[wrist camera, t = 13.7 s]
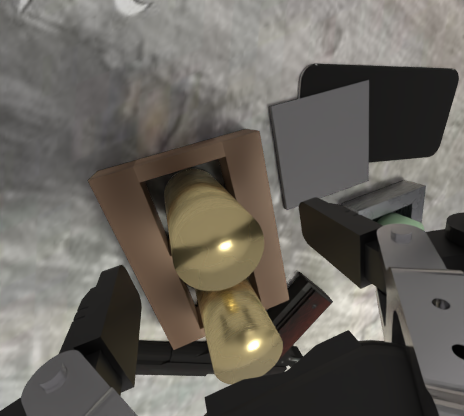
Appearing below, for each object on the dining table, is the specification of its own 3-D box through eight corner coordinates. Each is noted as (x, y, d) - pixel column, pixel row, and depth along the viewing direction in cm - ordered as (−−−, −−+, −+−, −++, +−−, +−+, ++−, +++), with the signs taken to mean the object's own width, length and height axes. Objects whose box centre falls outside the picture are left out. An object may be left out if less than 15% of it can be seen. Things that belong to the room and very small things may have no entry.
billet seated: (232, 244, 20) (277, 316, 13) (242, 281, 21) (287, 364, 14) (185, 261, 19) (204, 349, 12) (199, 298, 21) (223, 395, 13)
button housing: (404, 180, 23) (425, 185, 21) (400, 241, 26) (418, 250, 24) (341, 203, 22) (358, 211, 20) (344, 264, 24) (359, 276, 23)
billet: (211, 161, 17) (254, 193, 10) (225, 211, 18) (270, 270, 11) (155, 178, 16) (157, 227, 9) (174, 228, 18) (189, 304, 11)
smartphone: (303, 62, 16) (462, 68, 20) (297, 64, 17) (453, 69, 21) (294, 170, 19) (437, 157, 23) (290, 168, 19) (429, 155, 23)
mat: (364, 80, 18) (368, 79, 18) (364, 179, 21) (368, 180, 21) (268, 106, 17) (271, 106, 16) (284, 208, 20) (287, 210, 20)
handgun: (161, 253, 17) (120, 384, 19) (343, 288, 23) (295, 385, 25) (161, 239, 19) (125, 359, 22) (328, 274, 25) (284, 366, 27)
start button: (403, 207, 22) (426, 215, 20) (401, 240, 23) (421, 250, 21) (370, 220, 21) (390, 229, 19) (370, 253, 23) (389, 265, 21)
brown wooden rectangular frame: (245, 128, 17) (259, 130, 14) (275, 281, 22) (289, 299, 20) (97, 171, 15) (87, 180, 13) (171, 324, 21) (173, 350, 18)
